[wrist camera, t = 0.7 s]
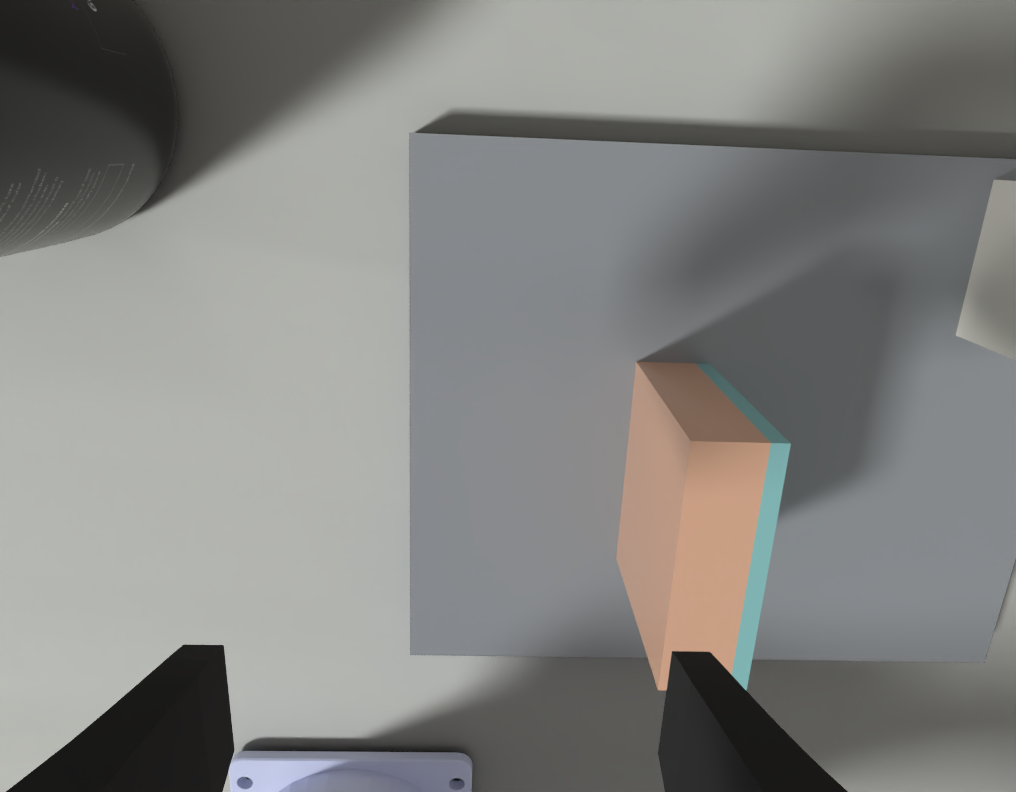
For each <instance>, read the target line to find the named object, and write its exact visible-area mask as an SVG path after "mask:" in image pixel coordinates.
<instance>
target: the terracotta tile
mask: <svg viewBox="0 0 1016 792" xmlns="http://www.w3.org/2000/svg"><path fill="white" fill-rule="evenodd" d="M790 446H791V443H790V442H789V441H788V440H787V439H786V438H785V437H784V436H783V435H782V434H781V433H780V432H779V431H778V430H777V429H776V428H775V427H774V426H773V425H772V424H771V423H770V422H769V421H768V420H767V419H766V418H764V417H763V416H762V415H761V414H760V413H759V412H758V411H757V410H756V409H755V408H754V407H753V406H752V405H751V404H750V403H749V402H748V401H747V400H746V399H745V398H744V397H743V396H742V395H741V394H740V393H739V392H738V391H737V390H736V389H735V388H734V387H733V386H732V385H731V384H730V383H729V382H728V381H727V380H726V379H725V378H724V377H723V376H722V375H721V374H720V373H719V372H718V371H717V370H716V369H715V368H714V367H713V366H712V365H711V364H698V363H666V362H636V368H635V378H634V387H633V397H632V407H631V417H630V427H629V437H628V447H627V456H626V466H625V476H624V486H623V496H622V506H621V515H620V525H619V535H618V545H617V555H616V559H617V563H618V566H619V569H620V572H621V575H622V578H623V582H624V585H625V588H626V591H627V594H628V597H629V601H630V604H631V607H632V610H633V613H634V616H635V619H636V623H637V626H638V629H639V632H640V635H641V638H642V642H643V645H644V648H645V651H646V654H647V657H648V660H649V664H650V667H651V670H652V673H653V676H654V679H655V683H656V686H657V689H658V690H667V684H668V677H669V669H670V662H671V654H672V651H695V652H711V653H712V654H713V655H714V656H715V658H716V659H717V660H718V661H719V662H720V663H721V664H722V665H723V666H724V667H725V668H726V669H727V670H728V672H729V673H730V674H731V675H732V676H733V677H734V678H735V679H736V680H737V681H738V682H739V683H740V685H741V686H742V687H743V688H744V689H745V690H746V691H747V686H748V680H749V675H750V669H751V664H752V658H753V652H754V647H755V641H756V636H757V630H758V624H759V619H760V613H761V608H762V602H763V597H764V591H765V585H766V580H767V574H768V569H769V563H770V557H771V552H772V546H773V541H774V535H775V530H776V524H777V518H778V513H779V507H780V502H781V496H782V491H783V485H784V479H785V474H786V468H787V463H788V457H789V451H790Z"/></svg>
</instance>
